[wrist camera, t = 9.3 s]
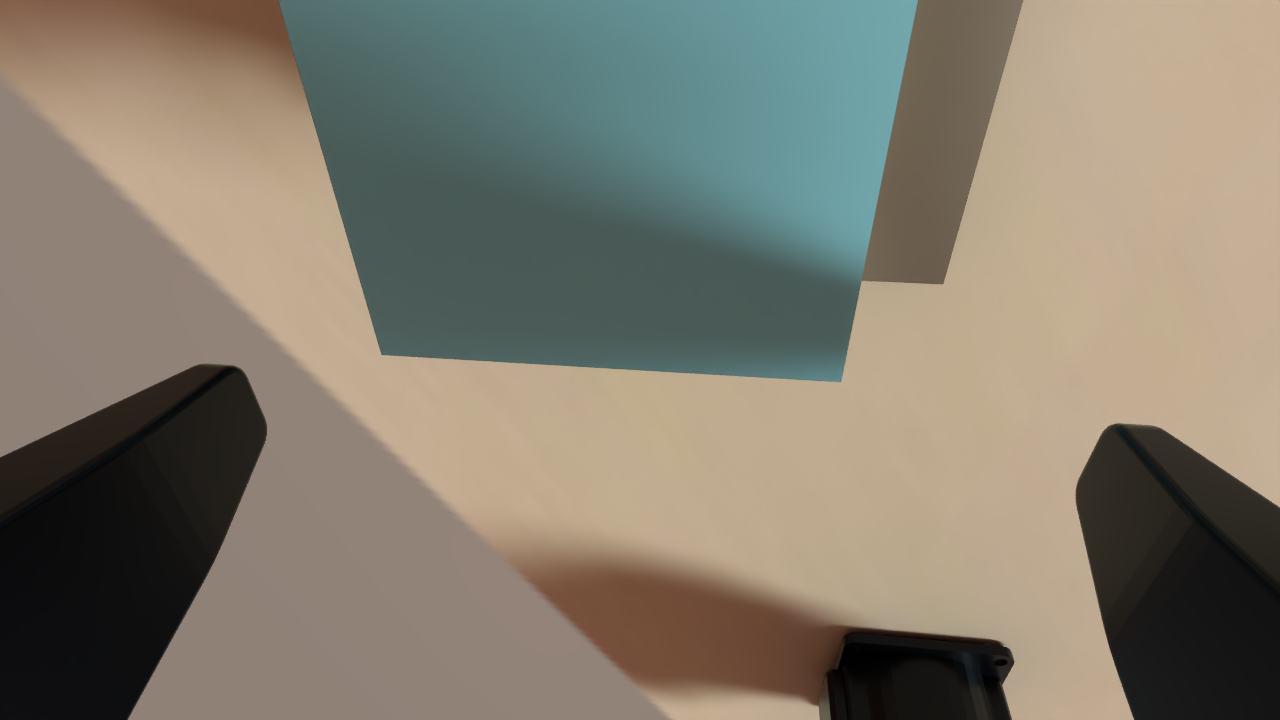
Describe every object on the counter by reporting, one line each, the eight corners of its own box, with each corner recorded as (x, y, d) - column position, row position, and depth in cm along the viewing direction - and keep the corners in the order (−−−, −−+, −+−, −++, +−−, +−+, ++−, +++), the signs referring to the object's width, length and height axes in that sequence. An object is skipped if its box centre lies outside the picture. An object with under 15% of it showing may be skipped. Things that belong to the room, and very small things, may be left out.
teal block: (863, -226, 10) (965, -233, 6) (808, 179, 14) (840, 382, 9) (445, -217, 11) (213, -219, 6) (498, 169, 14) (381, 355, 10)
